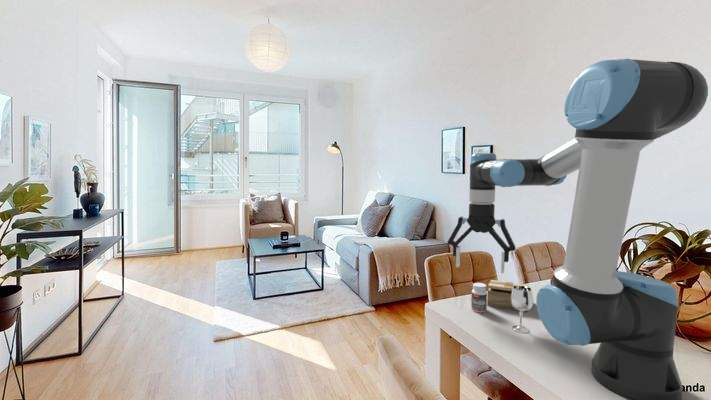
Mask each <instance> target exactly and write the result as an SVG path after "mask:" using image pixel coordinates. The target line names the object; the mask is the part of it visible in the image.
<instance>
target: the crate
mask: <svg viewBox="0 0 711 400" xmlns="http://www.w3.org/2000/svg"><path fill="white" fill-rule="evenodd" d="M511 292H512V291H508V290H501V289H494V288H488V290H487V306H488V305H489V307H494V308H501V309H506V310H507V309H508V310H512V311H513V310H514V311H519V312H520V310H517V309H515V308H514V307H513V306H512V304H511ZM524 312H525V313H528V310H527V311H524Z"/></svg>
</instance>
